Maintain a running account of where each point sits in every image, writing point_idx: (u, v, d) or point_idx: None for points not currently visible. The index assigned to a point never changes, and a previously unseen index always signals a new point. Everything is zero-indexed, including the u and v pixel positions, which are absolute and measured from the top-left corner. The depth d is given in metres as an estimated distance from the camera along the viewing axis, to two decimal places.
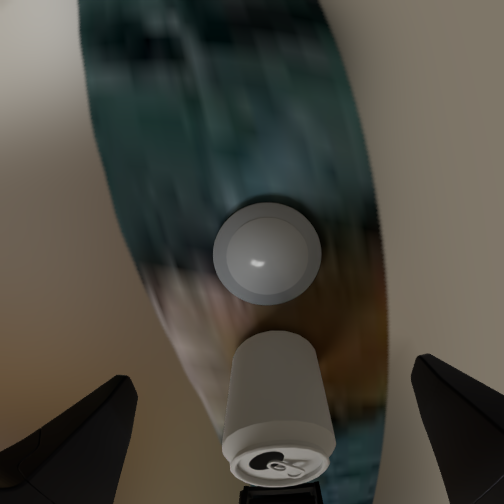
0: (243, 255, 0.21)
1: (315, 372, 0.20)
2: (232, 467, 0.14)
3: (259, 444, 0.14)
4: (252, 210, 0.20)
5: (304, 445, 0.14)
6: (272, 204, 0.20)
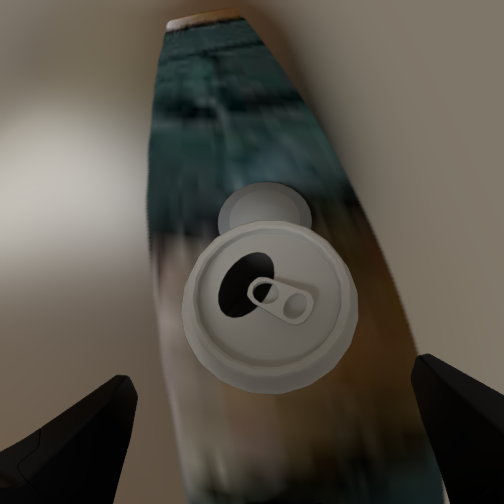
0: (244, 216, 0.25)
1: None
2: (191, 282, 0.11)
3: None
4: (253, 186, 0.27)
5: (299, 227, 0.12)
6: (268, 182, 0.27)
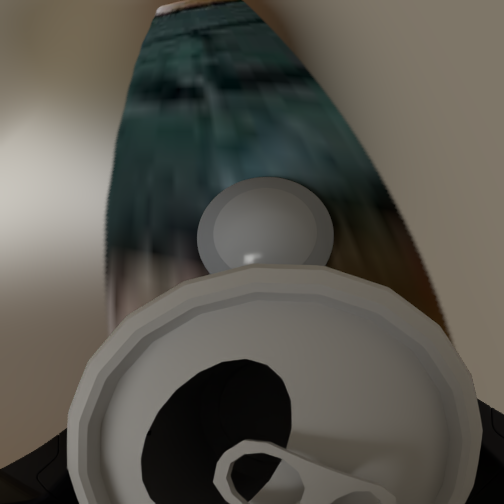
0: (234, 226, 0.17)
1: None
2: (70, 430, 0.03)
3: None
4: (249, 183, 0.19)
5: (365, 287, 0.04)
6: (270, 178, 0.19)
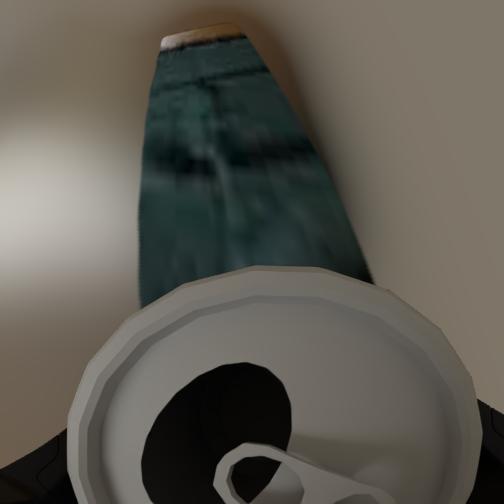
0: None
1: None
2: (70, 433, 0.03)
3: None
4: None
5: (366, 289, 0.04)
6: None
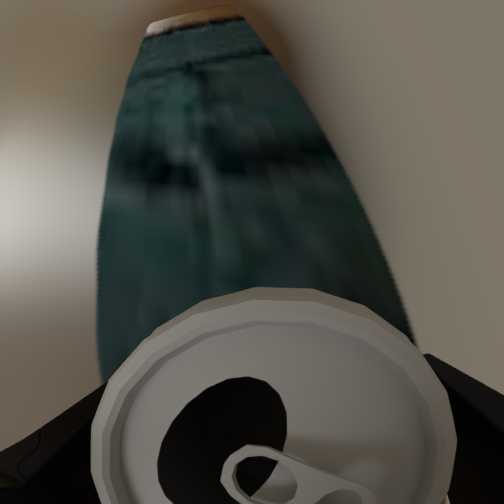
0: None
1: None
2: (94, 439, 0.04)
3: None
4: None
5: (353, 314, 0.04)
6: None
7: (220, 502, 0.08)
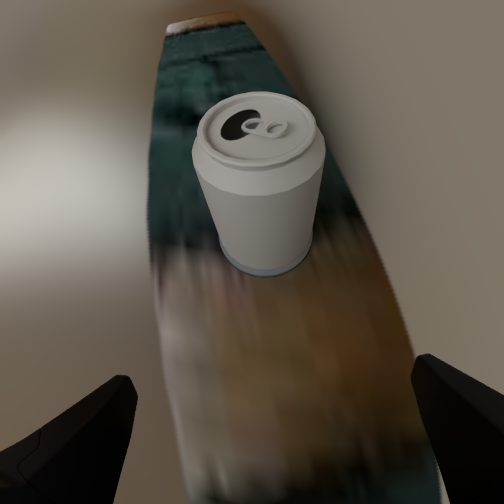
0: None
1: None
2: (201, 121, 0.15)
3: None
4: None
5: (278, 96, 0.15)
6: None
7: (232, 234, 0.19)
